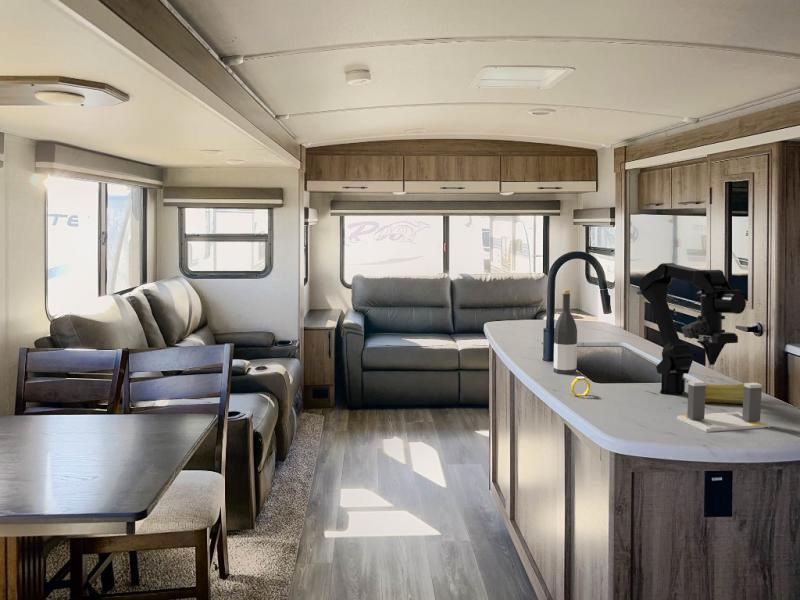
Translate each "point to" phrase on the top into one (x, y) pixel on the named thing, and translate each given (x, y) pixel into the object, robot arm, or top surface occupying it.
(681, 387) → the robot arm
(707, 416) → the switch board
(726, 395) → the vase
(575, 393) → the yellow ring
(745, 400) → the switch
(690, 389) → the switch
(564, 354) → the wine bottle
